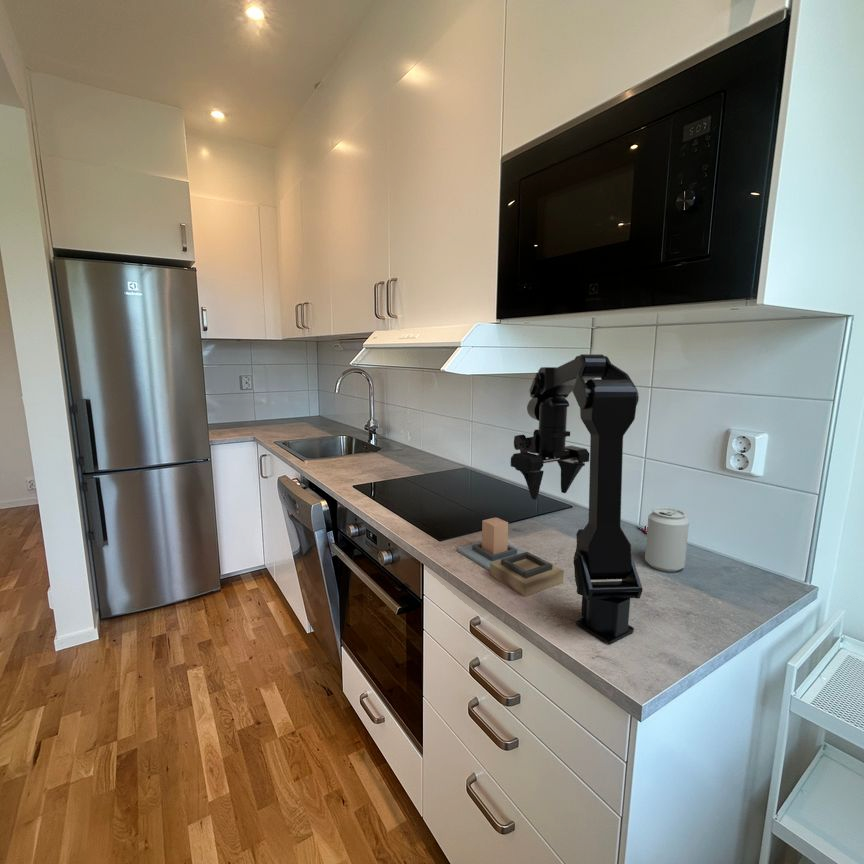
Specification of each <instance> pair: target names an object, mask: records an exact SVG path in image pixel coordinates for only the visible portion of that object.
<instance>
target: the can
mask: <svg viewBox="0 0 864 864" xmlns="http://www.w3.org/2000/svg"><path fill="white" fill-rule="evenodd" d="M651 511H652V512H651V513H650V514H648V519H647V530H646V542H645V555H644V560H645V561H646V562H647V564H649V566H651V568H653V569H655V570H658V571H662V572H668V573H674V572H678V571H680V570H681V569H683V568H685V566H686V557H687V556H686V555H687V547H688V546H687V545H688V539H689V538H688V536H689V535H688V534H689V527H690V522H689V519H688V518H687V517H686V516H687V513H686V512H684V511H683V510H680V509H677V508H675V507H674V508H673V507H666V506H658V507H654V508H652V510H651Z"/></svg>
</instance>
